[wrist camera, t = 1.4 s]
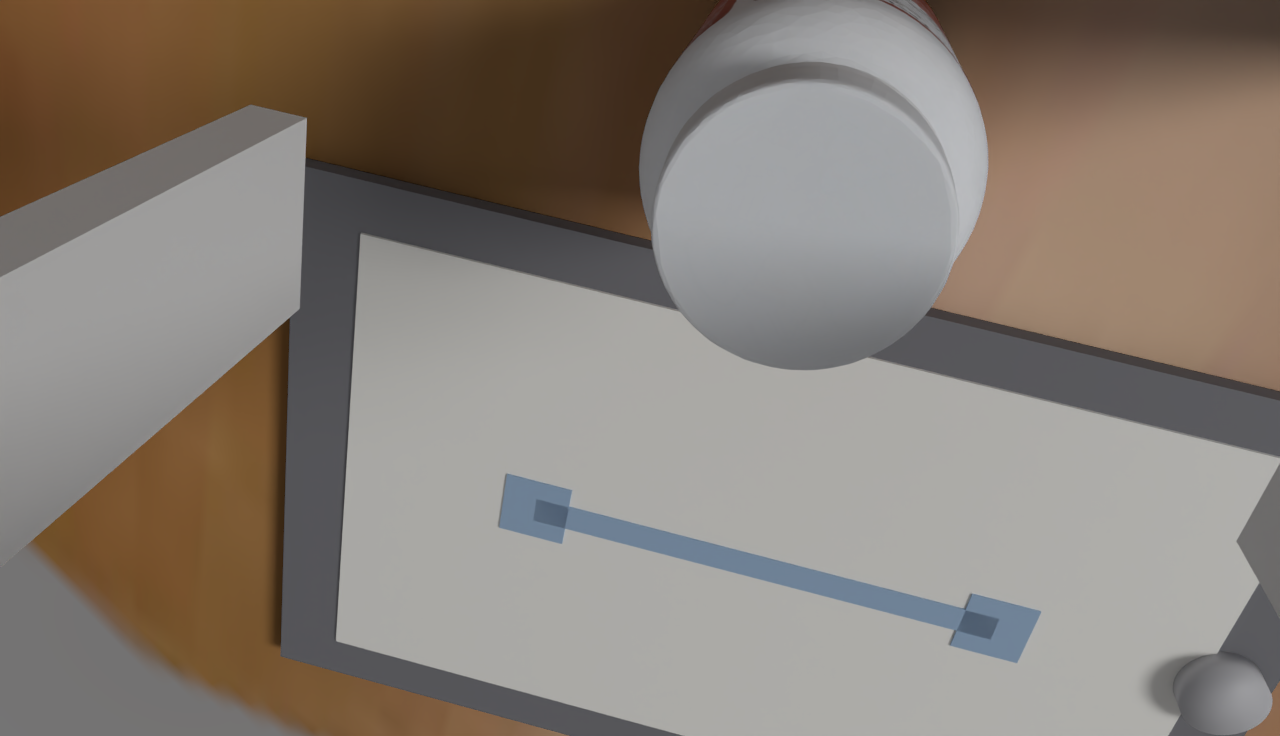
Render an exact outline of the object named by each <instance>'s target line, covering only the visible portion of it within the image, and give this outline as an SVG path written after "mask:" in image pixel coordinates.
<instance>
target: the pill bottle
mask: <svg viewBox="0 0 1280 736" xmlns="http://www.w3.org/2000/svg"><path fill="white" fill-rule="evenodd" d="M987 174H988V146H987V137H986V132H985V126H984V122H983V118H982V115H981V111H980V108H979V105H978V101H977V99H976V96H975V94H974V91H973V89H972V87H971V84H970V82H969V80H968V78H967V76H966V75H965V73H964V71H963V69H962V67H961V66H960V64H959V62H958V60H957V58H956V56H955V54H954V51H953V49H952V47H951V45H950V43H949V41H948V39H947V37H946V35H945V33H944V31H943V29H942V27H941V25H940V23H939V21H938V19H937V17H936V16H935V14H934V12H933V11H932V9H931V8H930V6H929V5H928V4H927V2H926V1H925V0H720V1H719V2H718V4H717V5H716V6H715V8H714V9H713V10H712V12H711V13H710V15H709V16H708V18H707V19H706V21H705V22H704V24H703V25H702V27H701V28H700V29H699V31H698V32H697V34H696V35H695V36H694V38H693V39H692V41H691V42H690V43H689V45H688V46H687V47H686V49H685V50H684V51H683V52H682V54H681V55H680V57H679V58H678V60H677V61H676V62H675V64H674V65H673V67H672V68H671V70H670V71H669V73H668V75H667V76H666V78H665V80H664V81H663V83H662V85H661V86H660V88H659V90H658V93H657V95H656V97H655V100H654V102H653V105H652V107H651V110H650V112H649V115H648V118H647V121H646V125H645V129H644V133H643V137H642V143H641V149H640V161H639V179H640V191H641V198H642V202H643V207H644V212H645V215H646V218H647V222H648V225H649V228H650V230H651V238H652V247H653V252H654V257H655V261H656V265H657V268H658V271H659V274H660V277H661V279H662V282H663V284H664V286H665V288H666V290H667V292H668V293H669V295H670V297H671V299H672V301H673V302H674V304H675V305H676V307H677V308H678V310H679V311H680V312H681V313H682V314H683V316H684V317H685V318H686V319H687V320H688V321H689V322H690V323H691V324H692V325H693V326H694V327H695V328H696V329H697V330H698V331H699V332H700V333H701V334H703V335H704V336H705V337H706V338H707V339H708V340H710V341H711V342H713V343H714V344H716V345H717V346H719V347H721V348H723V349H725V350H726V351H728V352H730V353H732V354H734V355H736V356H738V357H740V358H743V359H745V360H748V361H751V362H753V363H757V364H761V365H765V366H769V367H774V368H780V369H788V370H819V369H828V368H834V367H838V366H843V365H848V364H851V363H854V362H857V361H859V360H862V359H864V358H867V357H869V356H871V355H874V354H876V353H877V352H879V351H881V350H883V349H885V348H887V347H888V346H890V345H891V344H893V343H894V342H896V341H897V340H899V339H900V338H901V337H903V336H904V335H905V334H907V333H908V332H909V331H910V330H911V329H912V328H913V327H914V326H915V325H916V324H917V323H918V322H919V321H920V320H921V319H922V318H923V317H924V316H925V314H926V313H927V312H928V311H929V310H930V308H931V307H932V305H933V304H934V302H935V301H936V299H937V297H938V296H939V294H940V292H941V291H942V289H943V287H944V286H945V284H946V282H947V279H948V276H949V274H950V271H951V268H952V265H953V263H954V261H955V260H956V259H957V257H958V256H959V254H960V253H961V251H962V250H963V248H964V246H965V245H966V243H967V241H968V239H969V237H970V235H971V233H972V231H973V229H974V226H975V224H976V221H977V219H978V216H979V213H980V210H981V206H982V203H983V199H984V194H985V189H986V182H987Z"/></svg>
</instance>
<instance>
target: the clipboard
mask: <svg viewBox="0 0 1280 736" xmlns="http://www.w3.org/2000/svg"><path fill="white" fill-rule="evenodd" d="M1279 464H1280V392H1279V391H1275V390H1271V389H1267V388H1263V387H1259V386H1254V385H1250V384H1246V383H1242V382H1238V381H1234V380H1229V379H1225V378H1221V377H1217V376H1213V375H1208V374H1204V373H1200V372H1196V371H1192V370H1188V369H1183V368H1179V367H1175V366H1171V365H1167V364H1163V363H1158V362H1154V361H1150V360H1146V359H1142V358H1138V357H1133V356H1129V355H1125V354H1121V353H1117V352H1113V351H1108V350H1104V349H1100V348H1096V347H1092V346H1088V345H1083V344H1079V343H1075V342H1071V341H1067V340H1063V339H1058V338H1054V337H1050V336H1046V335H1042V334H1038V333H1033V332H1029V331H1025V330H1021V329H1017V328H1013V327H1008V326H1004V325H1000V324H996V323H992V322H988V321H983V320H979V319H975V318H971V317H967V316H963V315H958V314H954V313H950V312H946V311H942V310H938V309H933V308H930V310H929V311H928V312H927V313H926V314H925V316H924V317H923V318H922V319H921V320H920V321H919V322H918V323H917V324H916V325H915V326H914V327H913V328H912V329H911V330H910V331H909V332H908V333H907V334H905V335H904V336H903V337H901V338H900V339H899V340H897V341H896V342H894V343H893V344H891V345H890V346H888V347H887V348H885V349H883V350H881V351H879V352H877V353H876V354H874V355H871V356H869V357H867V358H864V359H862V360H859V361H857V362H854V363H851V364H848V365H843V366H838V367H834V368H828V369H819V370H788V369H780V368H774V367H769V366H765V365H761V364H757V363H753V362H751V361H748V360H745V359H743V358H740V357H738V356H736V355H734V354H732V353H730V352H728V351H726V350H725V349H723V348H721V347H719V346H717V345H716V344H714V343H713V342H711V341H710V340H708V339H707V338H706V337H705V336H704V335H703V334H701V333H700V332H699V331H698V330H697V329H696V328H695V327H694V326H693V325H692V324H691V323H690V322H689V321H688V320H687V319H686V318H685V317H684V316H683V314H682V313H681V312H680V311H679V310H678V308H677V307H676V305H675V304H674V302H673V301H672V299H671V297H670V295H669V293H668V292H667V290H666V288H665V286H664V284H663V282H662V279H661V277H660V274H659V271H658V268H657V265H656V261H655V257H654V252H653V247H652V241H650V240H646V239H642V238H637V237H633V236H629V235H625V234H621V233H617V232H612V231H608V230H604V229H600V228H596V227H591V226H587V225H583V224H579V223H575V222H571V221H566V220H562V219H558V218H554V217H550V216H546V215H541V214H537V213H533V212H529V211H525V210H521V209H516V208H512V207H508V206H504V205H500V204H496V203H491V202H487V201H483V200H479V199H475V198H471V197H466V196H462V195H458V194H454V193H450V192H446V191H441V190H437V189H433V188H429V187H425V186H421V185H416V184H412V183H408V182H404V181H400V180H396V179H391V178H387V177H383V176H379V175H375V174H371V173H366V172H362V171H358V170H354V169H350V168H346V167H341V166H337V165H333V164H329V163H325V162H321V161H316V160H312V159H308V158H305V182H304V209H303V235H302V262H301V288H300V309H299V310H298V311H297V312H295V313H294V314H293V315H292V316H291V317H290V335H289V371H288V408H287V444H286V480H285V516H284V553H283V589H282V625H281V656H282V657H285V658H289V659H293V660H296V661H300V662H304V663H307V664H311V665H315V666H318V667H322V668H325V669H329V670H333V671H336V672H340V673H344V674H347V675H351V676H355V677H358V678H362V679H366V680H369V681H373V682H376V683H380V684H384V685H387V686H391V687H395V688H398V689H402V690H406V691H409V692H413V693H417V694H420V695H424V696H427V697H431V698H435V699H438V700H442V701H446V702H449V703H453V704H457V705H460V706H464V707H468V708H471V709H475V710H478V711H482V712H486V713H489V714H493V715H497V716H500V717H504V718H508V719H511V720H515V721H519V722H522V723H526V724H529V725H533V726H537V727H540V728H544V729H548V730H551V731H555V732H559V733H562V734H566V735H570V736H1244V735H1245V734H1246V732H1247V731H1248V730H1250V729H1252V728H1254V727H1255V726H1257V725H1258V724H1260V723H1261V722H1262V721H1263V720H1264V719H1265V718H1266V717H1267V716H1268V714H1269V712H1270V710H1271V707H1272V695H1271V693H1272V692H1273V690H1274V689H1275V687H1276V686H1277V684H1278V682H1279V681H1280V618H1279V617H1278V615H1277V613H1276V611H1275V609H1274V608H1273V606H1272V604H1271V602H1270V600H1269V599H1268V597H1267V595H1266V593H1265V592H1264V590H1263V588H1262V586H1261V584H1260V583H1259V581H1258V579H1257V577H1256V575H1255V574H1254V572H1253V570H1252V568H1251V567H1250V565H1249V563H1248V561H1247V559H1246V558H1245V556H1244V554H1243V552H1242V550H1241V549H1240V547H1239V545H1238V543H1237V542H1236V541H1237V539H1238V537H1239V535H1240V534H1241V532H1242V530H1243V528H1244V526H1245V525H1246V523H1247V521H1248V519H1249V518H1250V516H1251V514H1252V512H1253V510H1254V509H1255V507H1256V505H1257V503H1258V501H1259V500H1260V498H1261V496H1262V494H1263V492H1264V491H1265V489H1266V487H1267V485H1268V483H1269V482H1270V480H1271V478H1272V476H1273V475H1274V473H1275V471H1276V469H1277V467H1278V466H1279Z"/></svg>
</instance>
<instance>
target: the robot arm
mask: <svg viewBox="0 0 1280 736" xmlns="http://www.w3.org/2000/svg"><path fill="white" fill-rule="evenodd" d="M306 129H307V118H305V117H301V116H297V115H292V114H288V113H284V112H280V111H275V110H271V109H267V108H263V107H258V106H254V105H249V106H247V107H245V108H242V109H240V110H238V111H236V112H233V113H231V114H229V115H227V116H224V117H222V118H220V119H218V120H216V121H213V122H211V123H209V124H207V125H204V126H202V127H200V128H198V129H195V130H193V131H191V132H189V133H187V134H184V135H182V136H180V137H178V138H175V139H173V140H171V141H169V142H166V143H164V144H162V145H160V146H158V147H155V148H153V149H151V150H149V151H146V152H144V153H142V154H140V155H137V156H135V157H133V158H131V159H129V160H126V161H124V162H122V163H120V164H117V165H115V166H113V167H111V168H108V169H106V170H104V171H102V172H100V173H97V174H95V175H93V176H91V177H88V178H86V179H84V180H82V181H79V182H77V183H75V184H73V185H70V186H68V187H66V188H64V189H62V190H59V191H57V192H55V193H53V194H50V195H48V196H46V197H44V198H41V199H39V200H37V201H35V202H33V203H30V204H28V205H26V206H24V207H21V208H19V209H17V210H15V211H12V212H10V213H8V214H6V215H4V216H1V217H0V567H1V566H3V565H4V564H5V563H6V562H7V561H8V560H9V559H11V558H12V557H13V556H14V555H15V554H16V553H18V552H19V551H20V550H21V549H22V548H23V547H25V546H26V545H27V544H28V543H29V542H30V541H32V540H33V539H34V538H35V537H36V536H37V535H38V534H40V533H41V532H42V531H43V530H44V529H45V528H47V527H48V526H49V525H50V524H51V523H52V522H54V521H55V520H56V519H57V518H58V517H59V516H60V515H62V514H63V513H64V512H65V511H66V510H67V509H69V508H70V507H71V506H72V505H73V504H74V503H76V502H77V501H78V500H79V499H80V498H81V497H82V496H84V495H85V494H86V493H87V492H88V491H89V490H91V489H92V488H93V487H94V486H95V485H96V484H98V483H99V482H100V481H101V480H102V479H103V478H104V477H106V476H107V475H108V474H109V473H110V472H111V471H113V470H114V469H115V468H116V467H117V466H118V465H119V464H121V463H122V462H123V461H124V460H125V459H126V458H128V457H129V456H130V455H131V454H132V453H133V452H135V451H136V450H137V449H138V448H139V447H140V446H141V445H143V444H144V443H145V442H146V441H147V440H148V439H150V438H151V437H152V436H153V435H154V434H155V433H157V432H158V431H159V430H160V429H161V428H162V427H163V426H165V425H166V424H167V423H168V422H169V421H170V420H172V419H173V418H174V417H175V416H176V415H177V414H179V413H180V412H181V411H182V410H183V409H184V408H185V407H187V406H188V405H189V404H190V403H191V402H192V401H194V400H195V399H196V398H197V397H198V396H199V395H201V394H202V393H203V392H204V391H205V390H206V389H207V388H209V387H210V386H211V385H212V384H213V383H214V382H216V381H217V380H218V379H219V378H220V377H221V376H222V375H224V374H225V373H226V372H227V371H228V370H229V369H231V368H232V367H233V366H234V365H235V364H236V363H238V362H239V361H240V360H241V359H242V358H243V357H244V356H246V355H247V354H248V353H249V352H250V351H251V350H253V349H254V348H255V347H256V346H257V345H258V344H260V343H261V342H262V341H263V340H264V339H265V338H266V337H268V336H269V335H270V334H271V333H272V332H273V331H275V330H276V329H277V328H278V327H279V326H280V325H282V324H283V323H284V322H285V321H286V320H287V319H288V318H290V317H291V316H292V315H293V314H294V313H295V312H297V311H298V310H299V309H300V288H301V262H302V235H303V209H304V182H305V155H306ZM1236 542H1237V543H1238V545H1239V547H1240V549H1241V550H1242V552H1243V554H1244V556H1245V558H1246V559H1247V561H1248V563H1249V565H1250V567H1251V568H1252V570H1253V572H1254V574H1255V575H1256V577H1257V579H1258V581H1259V583H1260V584H1261V586H1262V588H1263V590H1264V592H1265V593H1266V595H1267V597H1268V599H1269V600H1270V602H1271V604H1272V606H1273V608H1274V609H1275V611H1276V613H1277V615H1278V617H1279V618H1280V464H1279V466H1278V467H1277V469H1276V471H1275V473H1274V475H1273V476H1272V478H1271V480H1270V482H1269V483H1268V485H1267V487H1266V489H1265V491H1264V492H1263V494H1262V496H1261V498H1260V500H1259V501H1258V503H1257V505H1256V507H1255V509H1254V510H1253V512H1252V514H1251V516H1250V518H1249V519H1248V521H1247V523H1246V525H1245V526H1244V528H1243V530H1242V532H1241V534H1240V535H1239V537H1238V539H1237V541H1236Z"/></svg>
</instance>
